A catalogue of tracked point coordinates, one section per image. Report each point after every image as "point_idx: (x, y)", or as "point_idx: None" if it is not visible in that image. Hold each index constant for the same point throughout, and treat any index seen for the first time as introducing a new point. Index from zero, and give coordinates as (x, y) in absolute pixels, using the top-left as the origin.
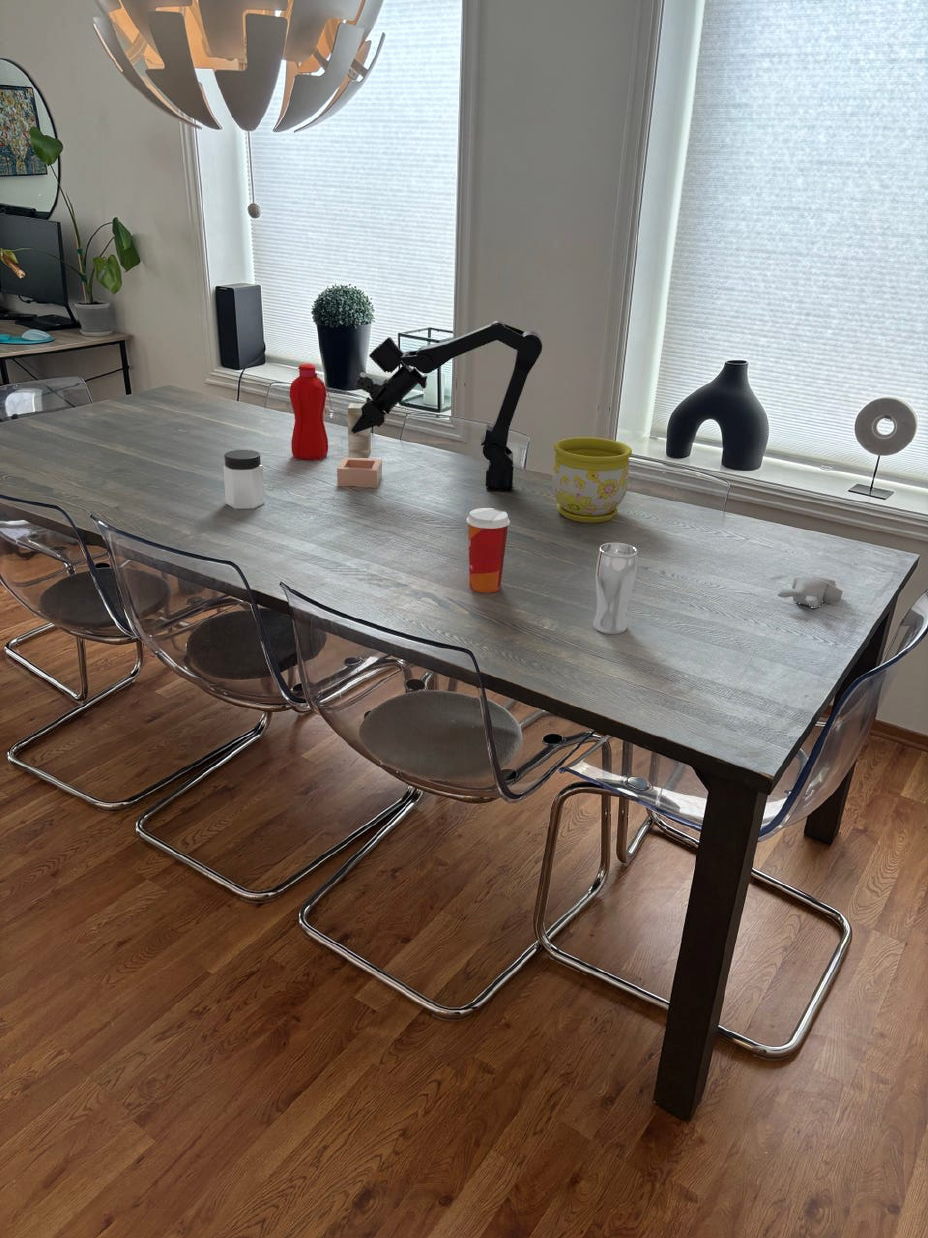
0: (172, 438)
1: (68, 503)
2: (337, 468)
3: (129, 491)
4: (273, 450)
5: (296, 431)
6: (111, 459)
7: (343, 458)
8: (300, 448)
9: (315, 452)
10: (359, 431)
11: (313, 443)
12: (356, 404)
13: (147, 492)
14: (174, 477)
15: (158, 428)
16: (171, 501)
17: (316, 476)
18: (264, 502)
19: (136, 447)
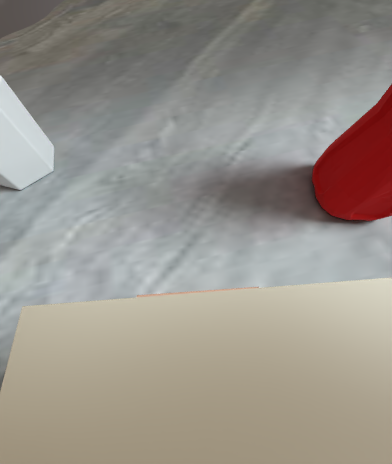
0: (324, 29)
1: (45, 22)
2: (138, 296)
3: (90, 47)
4: (344, 130)
5: (353, 126)
6: (212, 12)
7: (250, 288)
8: (325, 165)
9: (329, 199)
10: None
11: (341, 181)
12: (382, 440)
13: (86, 60)
14: (155, 66)
15: (355, 12)
16: (45, 86)
17: (211, 237)
18: (18, 189)
19: (267, 15)
